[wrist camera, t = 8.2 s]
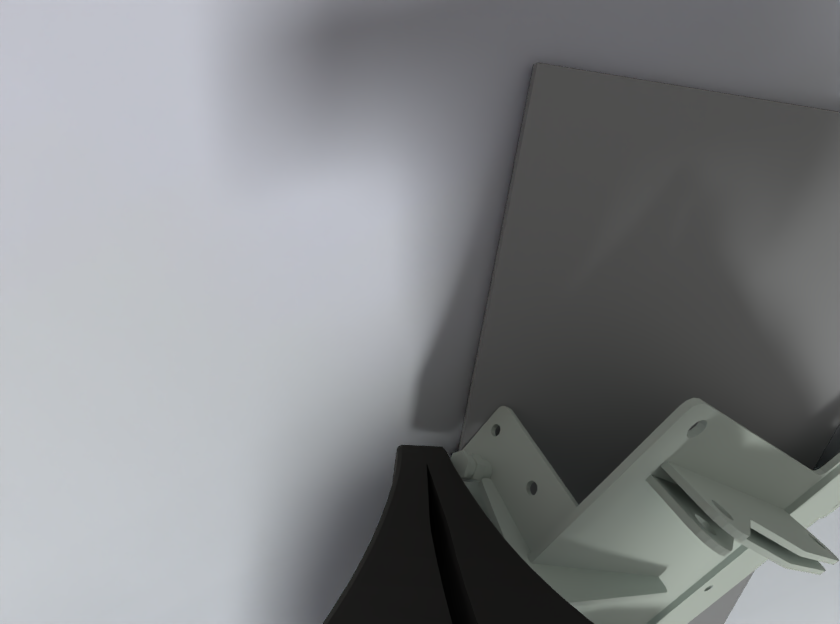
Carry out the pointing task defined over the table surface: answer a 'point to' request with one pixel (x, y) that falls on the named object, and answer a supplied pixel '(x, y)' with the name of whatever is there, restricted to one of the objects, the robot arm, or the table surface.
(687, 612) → the metal bracket
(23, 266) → the table surface
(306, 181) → the table surface
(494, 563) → the robot arm
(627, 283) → the rubber mat
